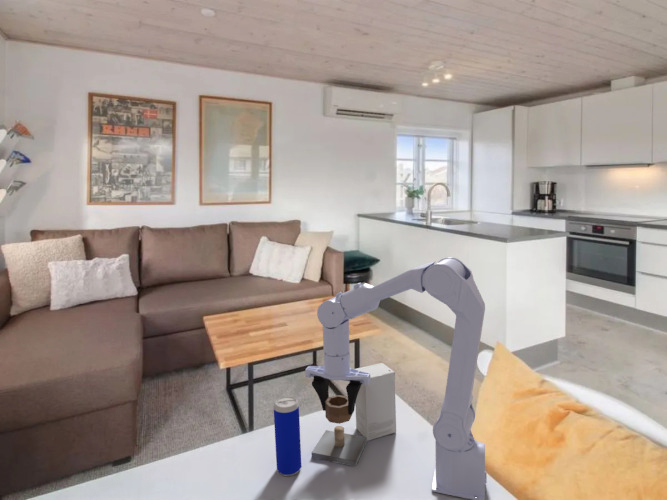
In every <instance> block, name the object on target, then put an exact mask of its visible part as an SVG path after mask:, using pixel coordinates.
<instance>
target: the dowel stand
mask: <svg viewBox="0 0 667 500" xmlns="http://www.w3.org/2000/svg"><path fill="white" fill-rule="evenodd" d="M367 442H368V441H367V440H366V437H364V436H363V435H362V436H361V435H357V434H356V435H355V434H351V433H350V434H349V433H345V427H344V426H343V425H337V426H335V427H334V429H333V430H327V429H326V430H325V431H324V432H323V434H322V436H321V437H320V439H319V441H318V442H317V443H316V445H315V446H314V448H313V449H312V451H311V458H313V459H318V460H322V461H327V462H333V463H338V464H343V465H347V466H352V467H356V466H357V463H358V462H359V460H360V457H361V456H362V452H364V451H363V450H364V448H365V447H366V444H367Z"/></svg>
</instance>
